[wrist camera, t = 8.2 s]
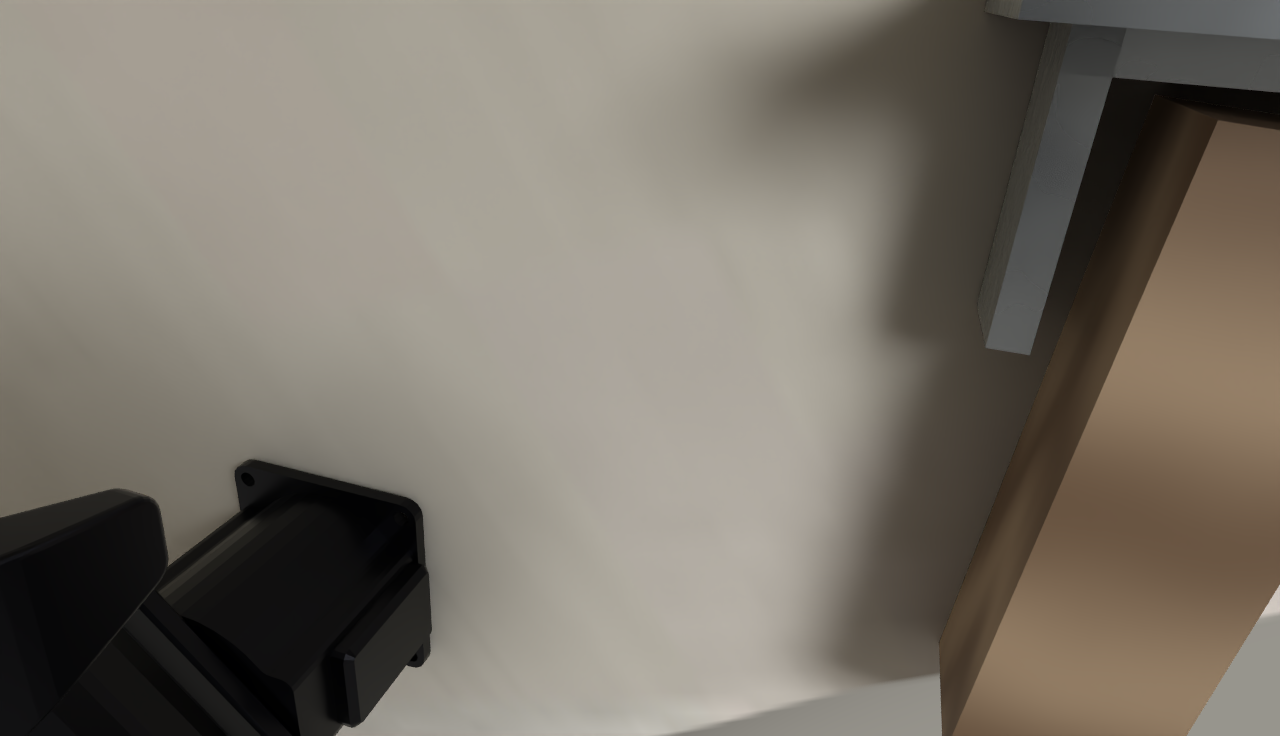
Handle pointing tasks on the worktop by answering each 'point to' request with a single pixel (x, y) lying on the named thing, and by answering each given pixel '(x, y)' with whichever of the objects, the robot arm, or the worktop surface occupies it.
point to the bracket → (1071, 109)
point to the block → (1140, 458)
